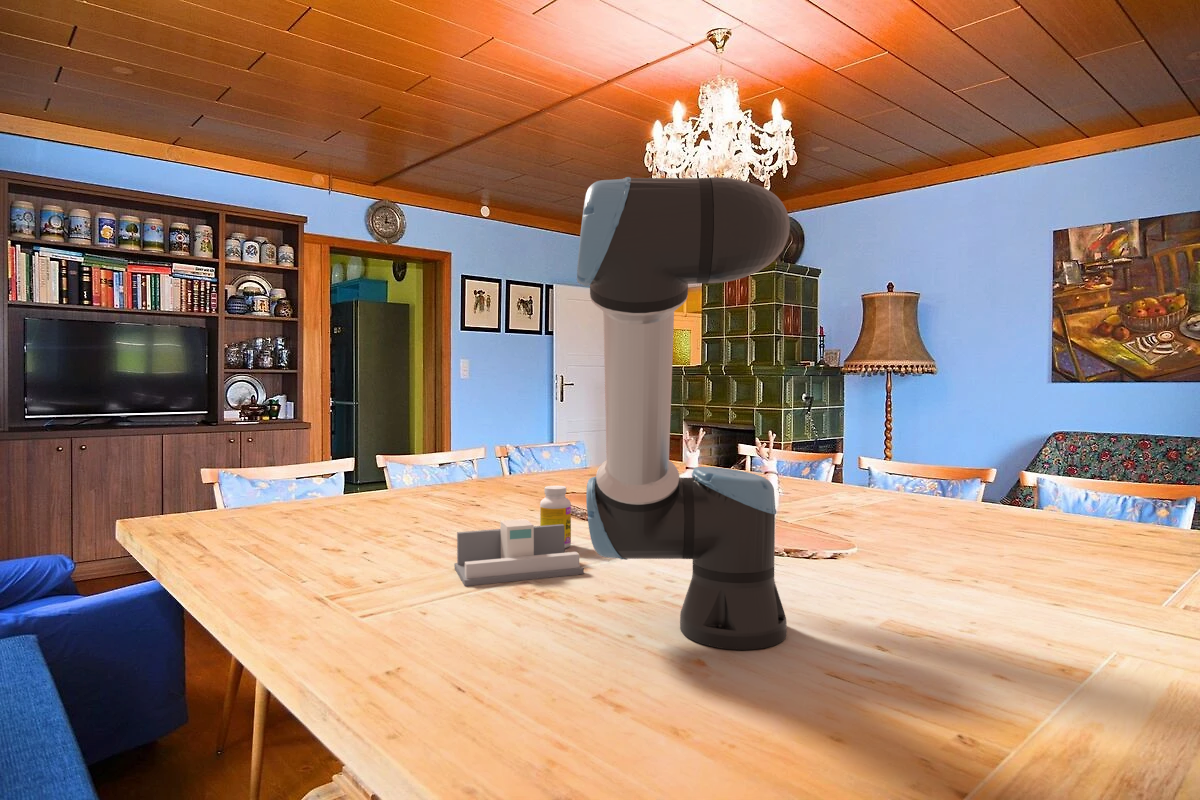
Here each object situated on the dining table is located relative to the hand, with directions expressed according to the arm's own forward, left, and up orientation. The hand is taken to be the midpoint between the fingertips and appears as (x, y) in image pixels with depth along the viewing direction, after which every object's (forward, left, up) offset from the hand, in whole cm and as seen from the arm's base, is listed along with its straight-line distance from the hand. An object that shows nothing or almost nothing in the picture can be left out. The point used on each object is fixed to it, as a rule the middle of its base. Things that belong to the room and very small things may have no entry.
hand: (639, 416), depth 130 cm
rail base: (+11, +20, -29) cm, 37 cm away
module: (+12, +20, -28) cm, 37 cm away
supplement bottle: (+27, +8, -30) cm, 41 cm away
